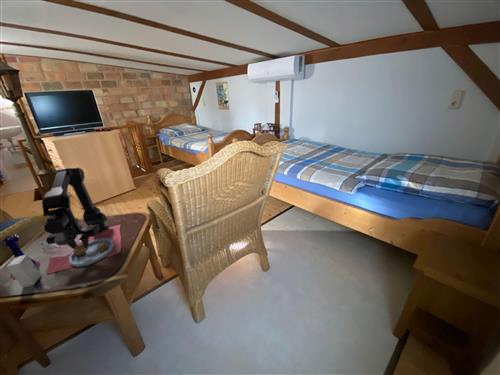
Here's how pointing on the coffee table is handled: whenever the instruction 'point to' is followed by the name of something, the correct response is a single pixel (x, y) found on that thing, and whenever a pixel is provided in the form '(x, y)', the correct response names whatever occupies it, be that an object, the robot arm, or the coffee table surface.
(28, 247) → the coffee table surface
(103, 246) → the wooden rounded peg
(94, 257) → the groove tray
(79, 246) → the bead
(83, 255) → the bead
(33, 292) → the coffee table surface
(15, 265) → the skincare box
